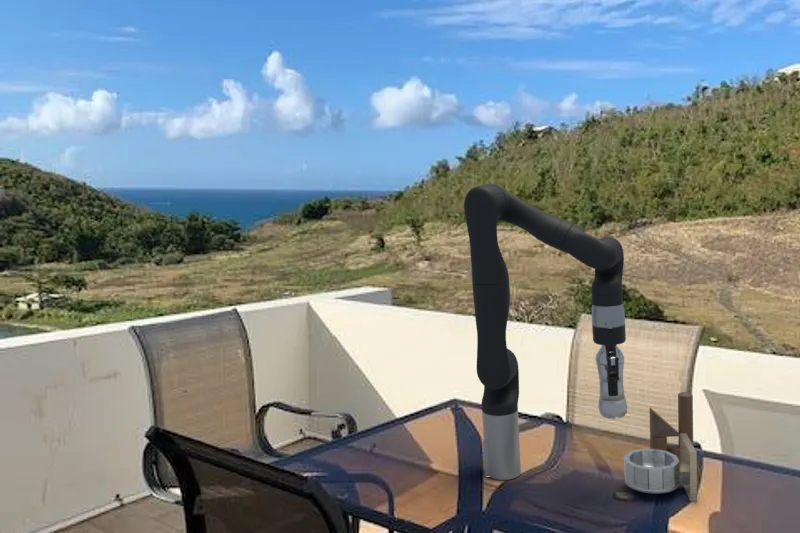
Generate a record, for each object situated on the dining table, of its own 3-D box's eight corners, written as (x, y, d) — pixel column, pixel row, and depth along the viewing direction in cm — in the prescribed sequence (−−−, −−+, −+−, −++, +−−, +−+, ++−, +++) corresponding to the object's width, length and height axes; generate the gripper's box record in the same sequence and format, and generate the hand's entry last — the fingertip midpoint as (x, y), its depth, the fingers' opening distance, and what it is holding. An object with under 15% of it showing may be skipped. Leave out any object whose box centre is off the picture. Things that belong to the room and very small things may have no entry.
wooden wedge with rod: (650, 458, 210) (648, 393, 208) (691, 456, 210) (690, 391, 207) (653, 463, 207) (652, 397, 204) (695, 462, 206) (695, 395, 203)
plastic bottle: (628, 421, 187) (625, 339, 184) (599, 422, 188) (594, 340, 185) (626, 412, 193) (623, 332, 190) (598, 412, 194) (594, 333, 191)
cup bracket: (628, 501, 187) (627, 453, 185) (622, 479, 199) (621, 433, 197) (697, 501, 184) (696, 452, 183) (686, 479, 197) (686, 433, 195)
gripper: (589, 316, 195) (593, 383, 197) (594, 330, 181) (598, 402, 183) (621, 315, 193) (624, 382, 196) (628, 328, 179) (632, 401, 182)
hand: (611, 391), depth 189 cm, fingers closed on plastic bottle, 5 cm apart
